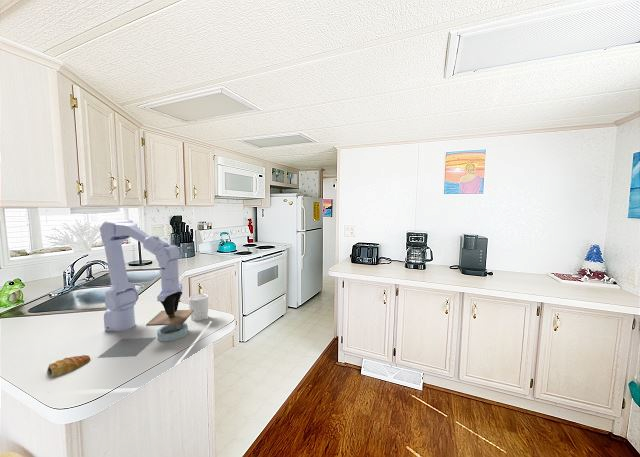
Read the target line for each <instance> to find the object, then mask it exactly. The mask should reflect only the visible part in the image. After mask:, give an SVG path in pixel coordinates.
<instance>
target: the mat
mask: <svg viewBox="0 0 640 457" xmlns="http://www.w3.org/2000/svg"><path fill="white" fill-rule="evenodd" d="M156 339H157V337H155V336H154V337H138V338H137V337H134V338H133V337H132V338H130V337H129V338H122V339H120V340H119V341H118V342H116V343H115V344H114V345H112V346H110V347H109V348H108V349H107V350H105V351H104V352H103V353H101V354H100V355H99V356H97V357H96V358H97V359H100V358H126V357H137V356H138V355H139V354H140V353H141V352H143V350H145V349H146V347H148V346H149V345H150V344H151V343H152V342H153V341H154V340H156Z"/></svg>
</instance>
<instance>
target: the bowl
mask: <svg viewBox="0 0 640 457" xmlns="http://www.w3.org/2000/svg"><path fill="white" fill-rule="evenodd" d="M175 330H177V331H175ZM171 331H175V332H171ZM156 332H157V333H156V335H157V337H156V338H157V340H158V341H160V342H172V341H175V340H179V339H182V338H183V337H185V336H186V335H187V334H188V333H189V327H188V324H187V323H186V322H184V323H183V325H161V327H159V328H158V329H157V330H156ZM168 332H169V333H168Z"/></svg>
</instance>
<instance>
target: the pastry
mask: <svg viewBox="0 0 640 457" xmlns="http://www.w3.org/2000/svg"><path fill="white" fill-rule="evenodd" d="M90 361H91V357H90V355H86V354H82V355H75V356H70V357H64V358H63V359H58V360H56V361H55V362H51V363H49V364H48V367H47V370H46V371H47V372H48V373H49V374H51V375H50V378H55V377H60V376H63V375H66V374H68V373H69V372H72V371H75V370H77V369H79V368H80V367H82V366H85V365H86V364H88V363H89V362H90Z"/></svg>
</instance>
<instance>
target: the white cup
mask: <svg viewBox="0 0 640 457" xmlns="http://www.w3.org/2000/svg"><path fill="white" fill-rule="evenodd" d="M187 299H188V305H189V309H188V310H193V312H192V314H191V315H190V316H189V317H190V320H191V321H196V322H197V321H202V320H207V319H208V317H209V313H208V312H209V295H208V294H205V293H198V294H194V295H191V296H189V297H188V298H187Z"/></svg>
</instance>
